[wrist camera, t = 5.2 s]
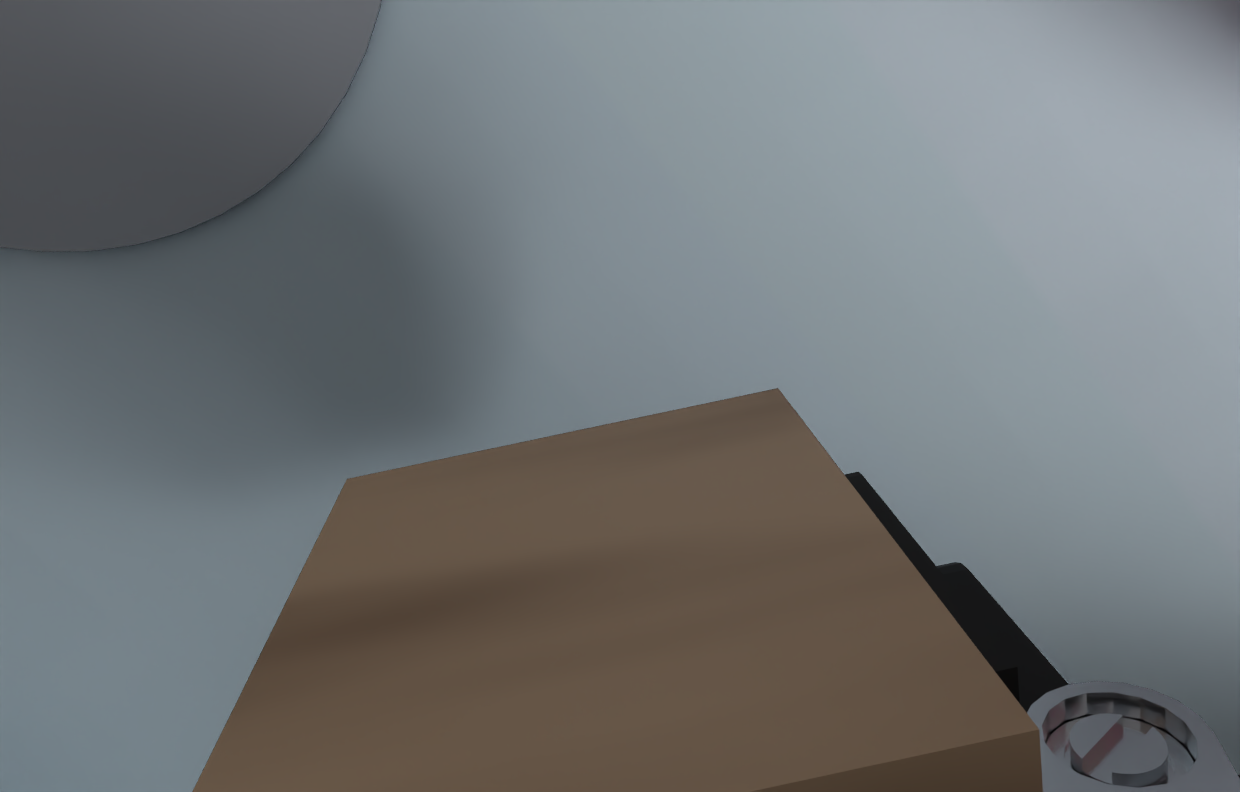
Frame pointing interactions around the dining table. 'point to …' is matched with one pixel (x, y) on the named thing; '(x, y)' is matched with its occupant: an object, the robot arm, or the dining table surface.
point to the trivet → (159, 109)
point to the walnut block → (621, 630)
